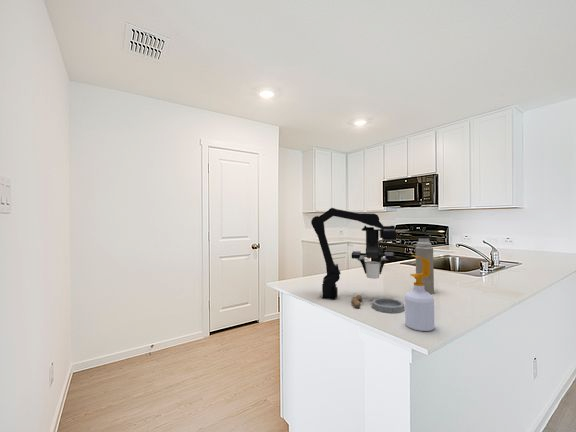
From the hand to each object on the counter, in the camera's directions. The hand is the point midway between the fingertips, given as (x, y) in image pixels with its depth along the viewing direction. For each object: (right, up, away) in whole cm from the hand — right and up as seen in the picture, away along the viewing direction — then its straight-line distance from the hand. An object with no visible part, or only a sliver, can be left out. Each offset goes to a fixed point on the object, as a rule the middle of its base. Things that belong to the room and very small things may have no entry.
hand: (372, 273), depth 126 cm
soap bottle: (+6, -11, -32) cm, 35 cm away
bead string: (-10, -12, -8) cm, 17 cm away
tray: (+2, -11, -13) cm, 17 cm away
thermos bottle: (+29, -11, +9) cm, 33 cm away
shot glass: (0, -2, 0) cm, 2 cm away
